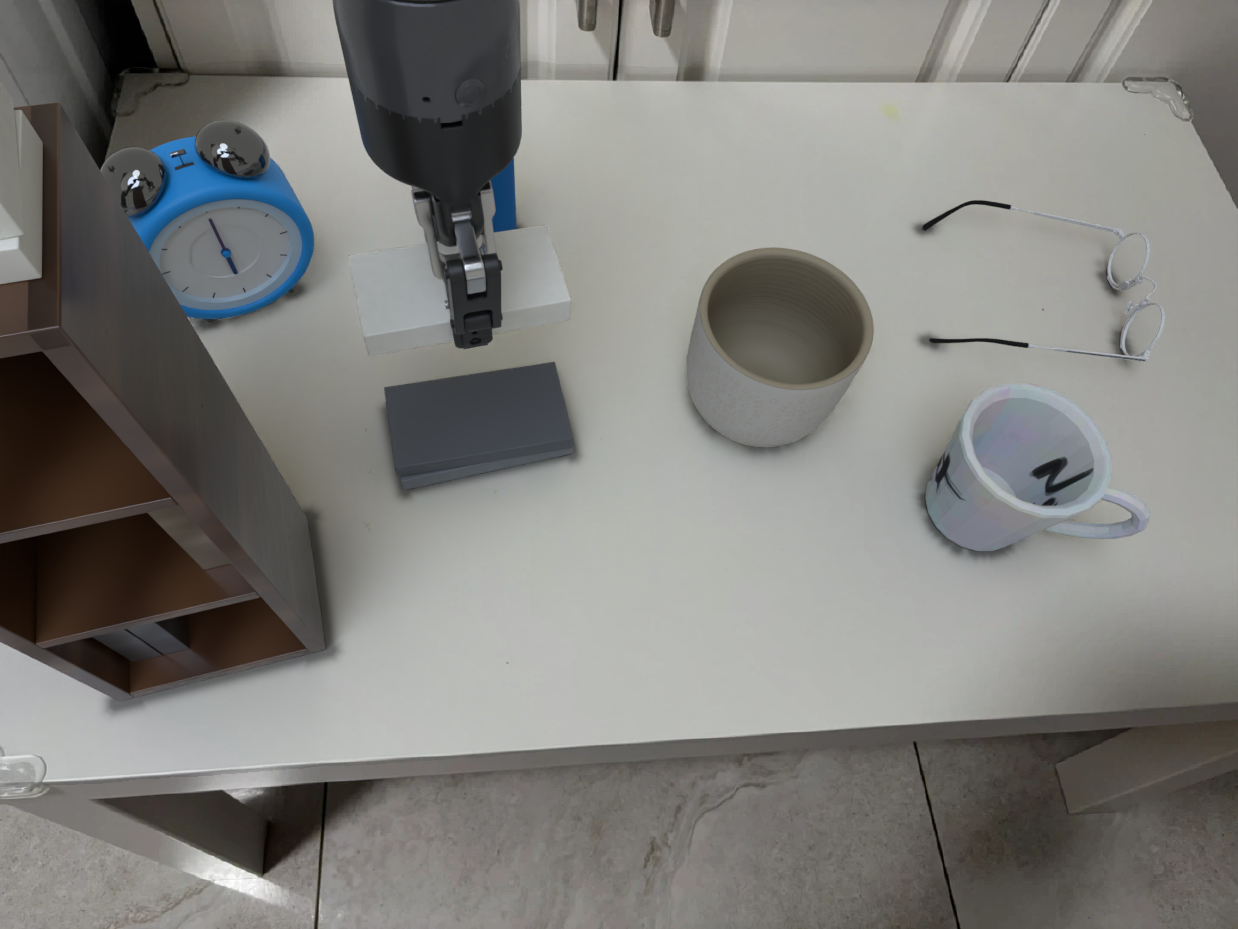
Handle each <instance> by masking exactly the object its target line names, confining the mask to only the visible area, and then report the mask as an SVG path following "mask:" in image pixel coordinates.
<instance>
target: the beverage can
mask: <svg viewBox="0 0 1238 929" xmlns="http://www.w3.org/2000/svg"><path fill="white" fill-rule="evenodd" d="M515 177H516V176H515V157H514V158H513V159H512V161H511V162H510V163H509V164H508V166H507V167H506V168H505V169H504V170H502V171H501V172H500V173H499V174H497V175H496V176H495V177H494V178H492V179H491V180H490V181H491V184H492V188H493V194H494V202H495V209H496V212H495V215H494V216H493V218H492V223H493V231H494V233H495V232H502V231H508V230H514V229H518V228H517V204H516V178H515Z"/></svg>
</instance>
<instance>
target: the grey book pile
mask: <svg viewBox="0 0 1238 929" xmlns="http://www.w3.org/2000/svg"><path fill="white" fill-rule="evenodd" d="M383 391H384V399H385V407H386V413H387V421H388V429H389V436H390V443H391V450H392V451H391V452H392V456H393V457H392V458H393V465H394V470H395V473H396V476H397V477H396V478H400V483H401V486H402V489H403V491H407V490H412V489H416V488H417V489H418V488H420V487H426V486H430V485H434V484H439V483H440V484H441V483H443V482H448V481H449V482H450V481H453V480H458V479H461V478H462V479H463V478H467V477H472V476H476V475H480V474H486V473H489V472H494V471H495V472H496V471H498V470H505V469H507V468H513V467H517V466H522V465H526V464H530V463H535V462H540V461H544V460H549V459H550V460H551V459H554V458H560V457H563V456H568V455H572V454H574V449H575V443H574V435H573V431H572V427H571V423H570V419H569V418H570V417H569V415H568V411H567V405H566V402H565V398H564V394H563V390H562V385H561V381H560V377H559V372H558V369H557V365H556V361H550V362H543V363H536V364H530V365H523V366H517V367H509V368H503V369H497V370H490V371H483V372H476V373H470V374H469V373H468V374H464V375H457V376H449V377H443V378H442V377H441V378H435V379H431V380H430V379H429V380H423V381H416V382H409V383H403V384H396V385H390V386H384V387H383Z"/></svg>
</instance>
